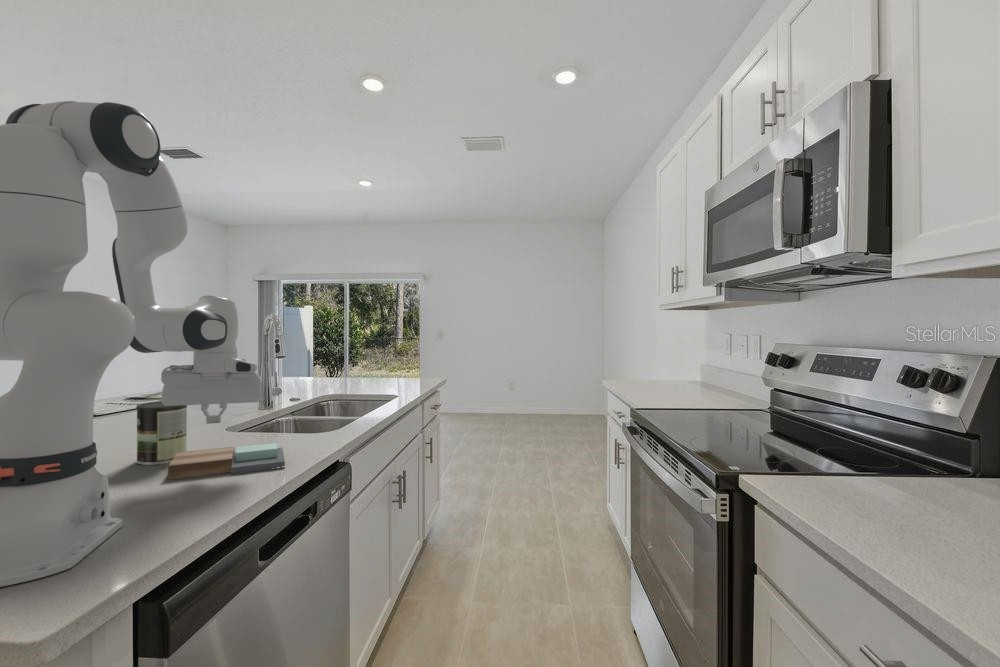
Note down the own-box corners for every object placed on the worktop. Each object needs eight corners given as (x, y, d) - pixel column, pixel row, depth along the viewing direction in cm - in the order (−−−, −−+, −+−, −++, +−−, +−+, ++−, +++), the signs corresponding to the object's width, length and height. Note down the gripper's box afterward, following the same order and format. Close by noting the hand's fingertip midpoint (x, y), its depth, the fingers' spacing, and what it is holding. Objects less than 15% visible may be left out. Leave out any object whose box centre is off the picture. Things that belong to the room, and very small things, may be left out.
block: (277, 456, 111) (277, 448, 111) (235, 461, 107) (235, 453, 107) (276, 450, 116) (276, 443, 116) (236, 455, 112) (236, 447, 112)
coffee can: (130, 467, 106) (130, 408, 106) (143, 456, 116) (143, 401, 115) (182, 462, 111) (182, 405, 110) (191, 451, 120) (191, 399, 120)
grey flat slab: (284, 467, 107) (284, 461, 107) (231, 474, 102) (231, 467, 102) (282, 453, 120) (282, 447, 120) (234, 458, 114) (234, 452, 114)
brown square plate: (231, 471, 104) (231, 458, 104) (168, 479, 98) (168, 465, 98) (234, 458, 114) (234, 446, 114) (177, 464, 109) (177, 452, 109)
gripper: (158, 365, 99) (156, 428, 99) (263, 365, 109) (261, 422, 108) (164, 364, 105) (162, 423, 104) (263, 364, 114) (261, 418, 114)
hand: (213, 423), depth 106 cm, fingers closed
